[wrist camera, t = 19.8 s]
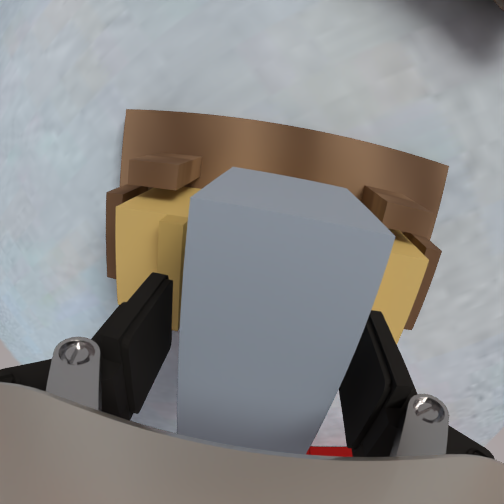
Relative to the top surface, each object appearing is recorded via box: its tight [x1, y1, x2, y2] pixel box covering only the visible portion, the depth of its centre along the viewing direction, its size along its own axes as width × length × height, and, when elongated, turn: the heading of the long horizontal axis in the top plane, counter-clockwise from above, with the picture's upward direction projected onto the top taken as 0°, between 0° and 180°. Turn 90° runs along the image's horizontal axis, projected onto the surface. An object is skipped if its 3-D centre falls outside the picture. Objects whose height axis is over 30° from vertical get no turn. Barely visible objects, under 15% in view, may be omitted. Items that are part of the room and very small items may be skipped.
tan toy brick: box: [115, 186, 429, 345], centre depth 16 cm, size 14×5×7 cm, turn 82°
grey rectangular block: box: [177, 167, 395, 454], centre depth 11 cm, size 4×10×6 cm, turn 171°
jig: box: [106, 109, 449, 330], centre depth 18 cm, size 20×14×6 cm
